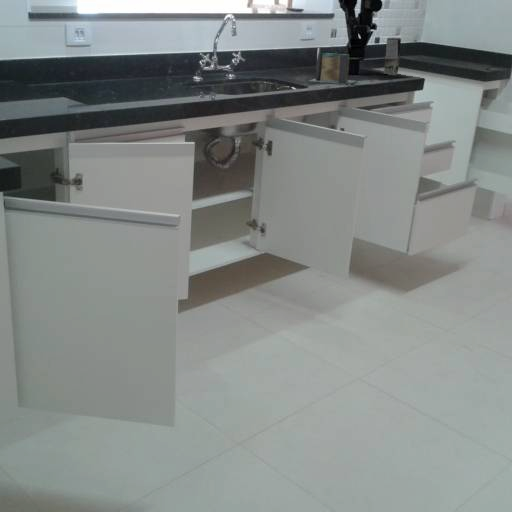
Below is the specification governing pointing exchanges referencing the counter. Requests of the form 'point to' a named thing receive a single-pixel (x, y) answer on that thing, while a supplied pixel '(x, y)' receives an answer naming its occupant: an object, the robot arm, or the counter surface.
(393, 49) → the coffee box
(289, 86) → the counter surface
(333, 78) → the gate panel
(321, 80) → the gate mat
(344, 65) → the gate frame
